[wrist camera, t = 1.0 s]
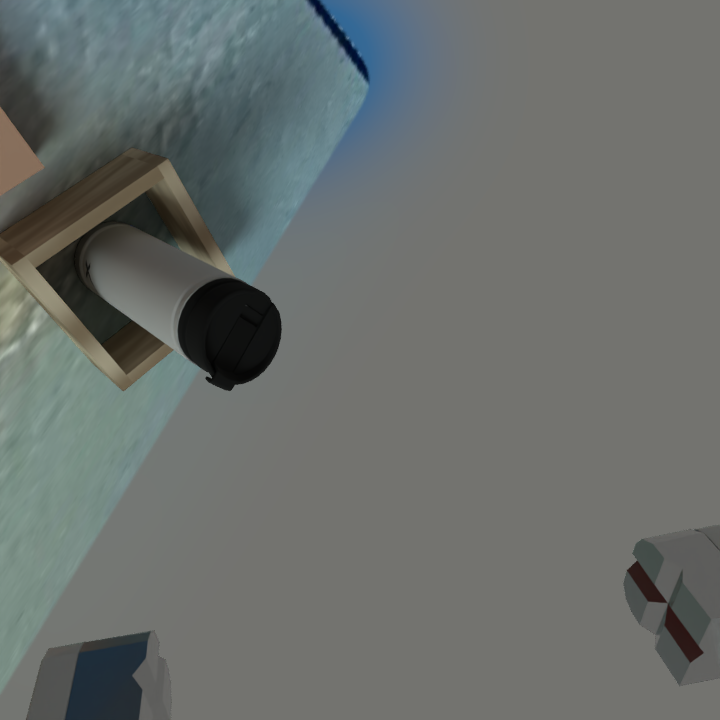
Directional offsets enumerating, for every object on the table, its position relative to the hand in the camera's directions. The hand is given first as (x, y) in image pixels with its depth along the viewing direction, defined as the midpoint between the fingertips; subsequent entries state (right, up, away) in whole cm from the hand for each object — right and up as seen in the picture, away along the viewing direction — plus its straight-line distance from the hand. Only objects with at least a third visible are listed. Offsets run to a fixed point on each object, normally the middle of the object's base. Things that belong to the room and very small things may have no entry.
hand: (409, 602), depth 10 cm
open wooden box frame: (-21, +12, +40) cm, 47 cm away
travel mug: (-22, +12, +40) cm, 47 cm away
